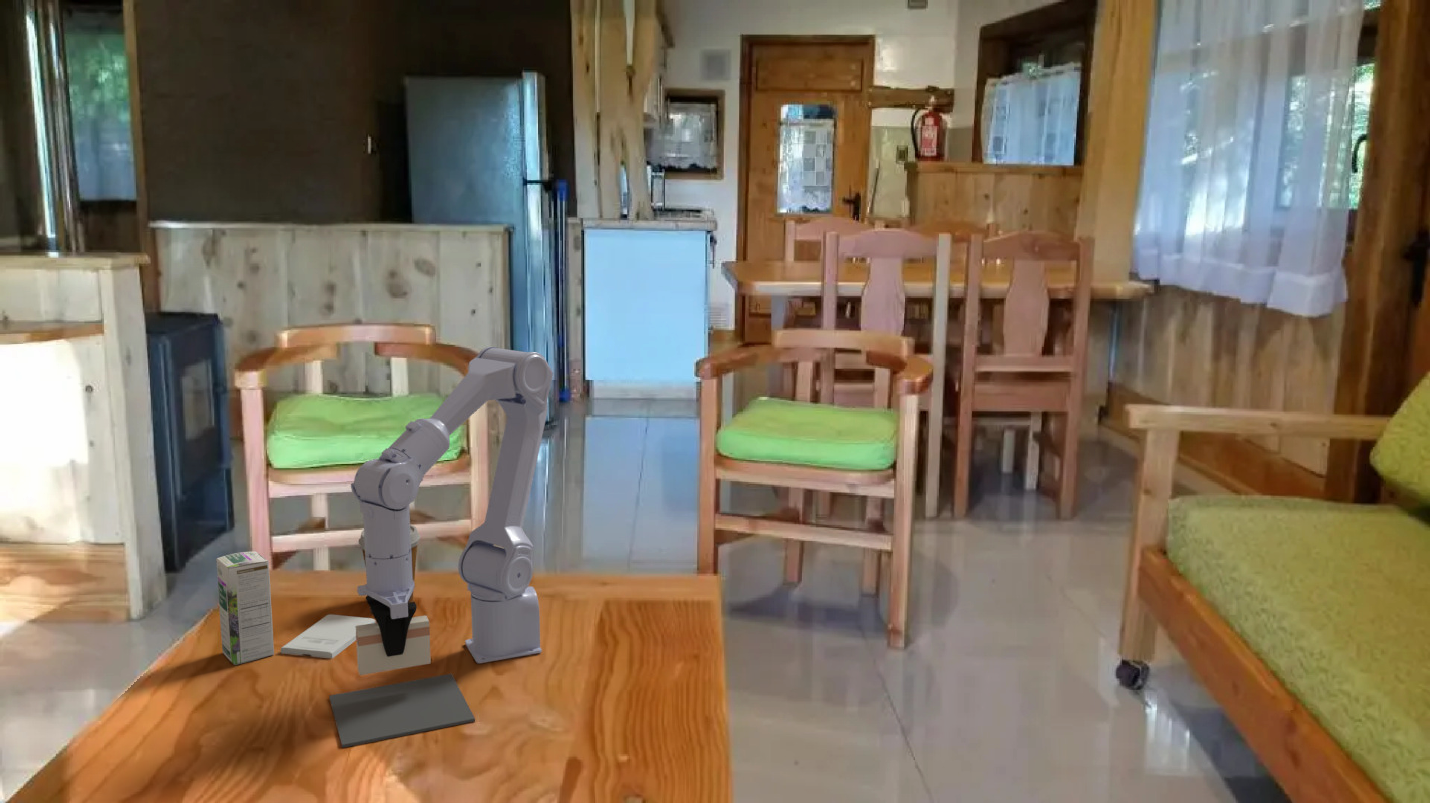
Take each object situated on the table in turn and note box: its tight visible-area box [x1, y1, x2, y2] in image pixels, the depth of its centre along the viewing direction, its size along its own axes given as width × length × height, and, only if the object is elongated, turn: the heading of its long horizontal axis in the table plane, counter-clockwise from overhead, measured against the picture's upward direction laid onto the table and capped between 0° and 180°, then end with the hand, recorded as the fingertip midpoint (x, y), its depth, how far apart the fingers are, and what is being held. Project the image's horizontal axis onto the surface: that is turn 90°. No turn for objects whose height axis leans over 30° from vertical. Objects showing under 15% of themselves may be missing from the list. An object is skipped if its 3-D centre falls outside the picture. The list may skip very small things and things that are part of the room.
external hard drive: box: [280, 614, 376, 659], centre depth 160 cm, size 2×8×12 cm
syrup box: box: [216, 550, 275, 666], centre depth 153 cm, size 6×6×14 cm
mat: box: [329, 673, 476, 749], centre depth 139 cm, size 16×14×1 cm
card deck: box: [356, 615, 432, 676], centre depth 141 cm, size 9×2×6 cm, turn 115°
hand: (393, 650), depth 141 cm, fingers closed on card deck, 2 cm apart
